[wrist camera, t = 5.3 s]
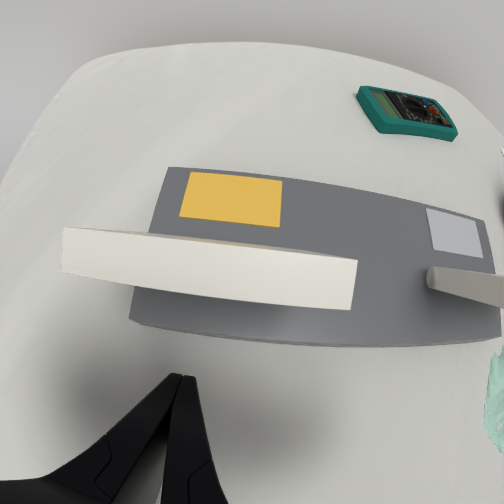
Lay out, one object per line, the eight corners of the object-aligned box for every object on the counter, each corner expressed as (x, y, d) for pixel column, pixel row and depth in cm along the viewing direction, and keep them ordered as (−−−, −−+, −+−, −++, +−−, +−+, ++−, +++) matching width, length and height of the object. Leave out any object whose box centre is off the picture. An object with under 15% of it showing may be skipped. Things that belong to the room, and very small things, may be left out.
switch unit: (484, 340, 19) (502, 336, 16) (140, 324, 19) (127, 318, 16) (470, 231, 24) (484, 220, 21) (173, 184, 23) (168, 165, 21)
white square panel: (299, 274, 18) (350, 310, 8) (148, 256, 18) (60, 271, 8) (302, 249, 18) (358, 260, 8) (150, 232, 18) (63, 227, 8)
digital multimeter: (453, 144, 30) (463, 131, 27) (376, 136, 28) (385, 118, 25) (429, 110, 33) (437, 97, 30) (352, 98, 31) (358, 81, 28)
